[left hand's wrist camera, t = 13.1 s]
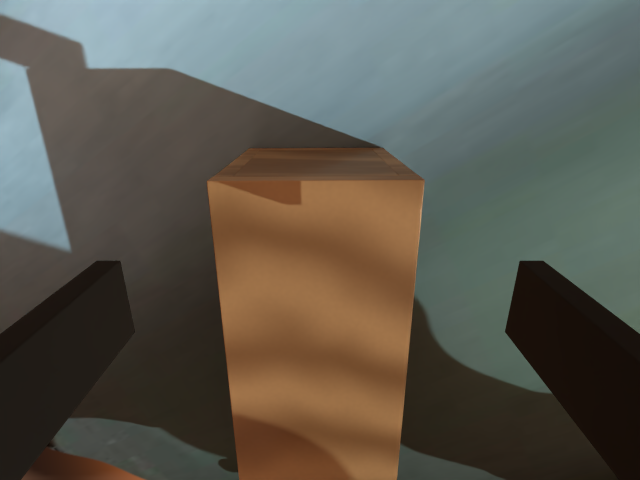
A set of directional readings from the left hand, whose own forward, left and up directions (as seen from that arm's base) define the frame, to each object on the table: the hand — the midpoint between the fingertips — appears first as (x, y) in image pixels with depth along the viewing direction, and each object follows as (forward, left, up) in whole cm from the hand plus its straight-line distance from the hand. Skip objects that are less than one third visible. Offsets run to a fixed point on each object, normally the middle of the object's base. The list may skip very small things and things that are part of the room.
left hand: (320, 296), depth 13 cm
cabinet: (+7, -3, -18) cm, 20 cm away
